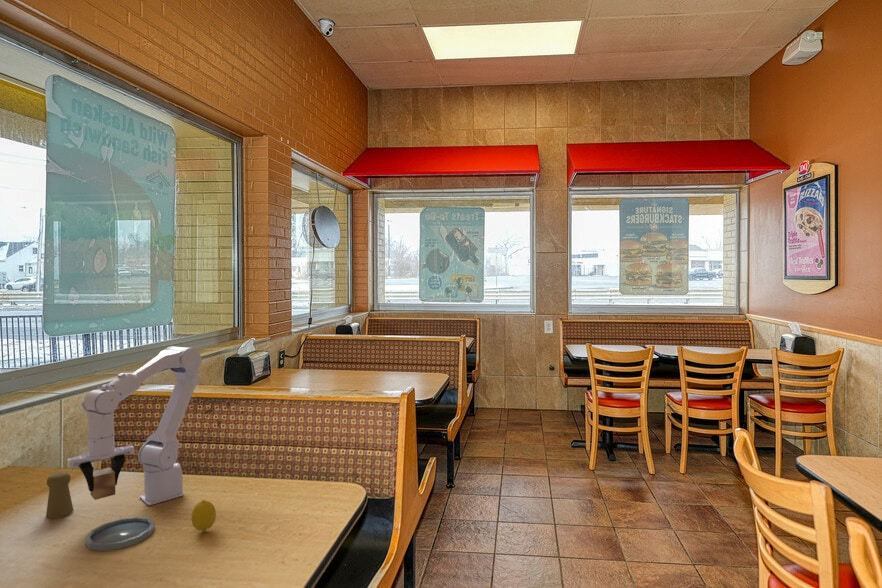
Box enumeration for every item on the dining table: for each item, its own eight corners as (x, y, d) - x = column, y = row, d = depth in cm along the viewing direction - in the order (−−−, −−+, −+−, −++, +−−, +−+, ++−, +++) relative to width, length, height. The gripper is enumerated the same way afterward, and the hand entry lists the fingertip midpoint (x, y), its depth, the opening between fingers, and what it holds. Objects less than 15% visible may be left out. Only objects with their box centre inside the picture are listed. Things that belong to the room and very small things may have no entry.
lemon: (220, 528, 131) (220, 497, 131) (204, 538, 126) (203, 506, 126) (203, 525, 133) (203, 494, 133) (186, 535, 128) (185, 503, 127)
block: (110, 489, 139) (110, 467, 138) (115, 494, 135) (114, 471, 135) (90, 494, 135) (89, 472, 135) (94, 499, 132) (94, 476, 132)
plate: (143, 517, 138) (143, 511, 138) (161, 535, 128) (161, 529, 128) (80, 536, 128) (80, 530, 127) (94, 557, 118) (94, 551, 118)
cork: (58, 519, 136) (57, 478, 136) (39, 517, 138) (38, 477, 137) (79, 509, 142) (77, 470, 142) (60, 507, 144) (59, 468, 143)
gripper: (70, 446, 127) (72, 500, 127) (137, 433, 137) (138, 483, 138) (65, 439, 132) (66, 492, 132) (129, 427, 142) (130, 476, 143)
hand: (102, 487), depth 135 cm, fingers closed on block, 5 cm apart
